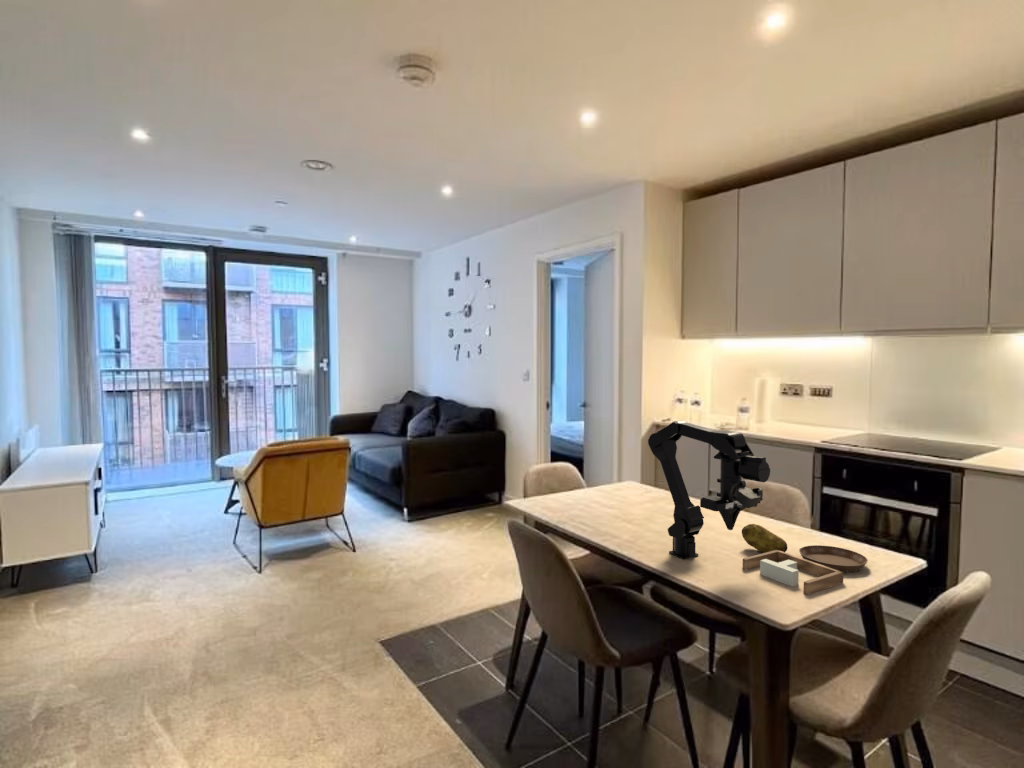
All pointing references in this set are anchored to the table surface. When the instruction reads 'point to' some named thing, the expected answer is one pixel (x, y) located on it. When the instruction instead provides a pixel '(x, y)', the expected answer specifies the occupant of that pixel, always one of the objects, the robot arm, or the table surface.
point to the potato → (763, 539)
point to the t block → (780, 571)
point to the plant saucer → (834, 557)
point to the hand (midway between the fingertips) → (730, 529)
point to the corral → (826, 574)
